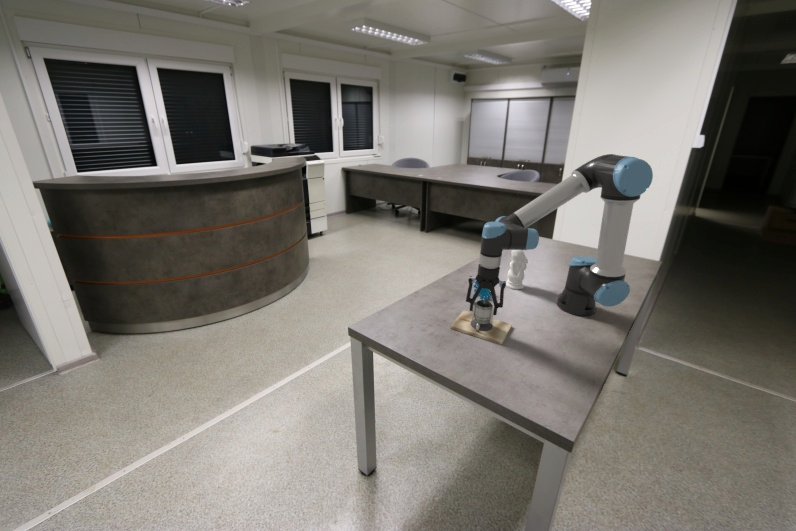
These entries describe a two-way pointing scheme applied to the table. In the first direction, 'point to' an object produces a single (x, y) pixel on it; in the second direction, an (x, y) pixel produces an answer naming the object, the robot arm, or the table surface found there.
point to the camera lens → (482, 311)
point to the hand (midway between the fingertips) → (481, 319)
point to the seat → (482, 326)
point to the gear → (482, 292)
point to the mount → (493, 335)
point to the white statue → (516, 269)
